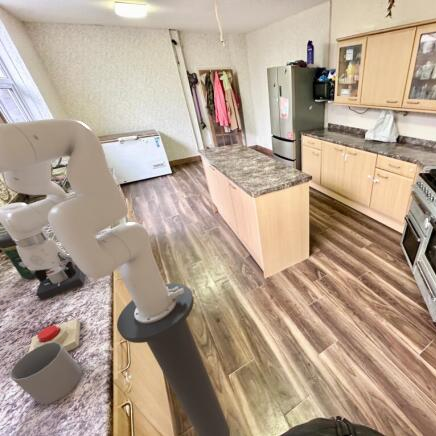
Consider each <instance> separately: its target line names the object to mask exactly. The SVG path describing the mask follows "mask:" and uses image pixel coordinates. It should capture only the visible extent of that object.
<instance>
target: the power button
mask: <svg viewBox="0 0 436 436" xmlns="http://www.w3.org/2000/svg"><path fill="white" fill-rule="evenodd" d="M55 325H56V324H53V325H49V326H47V327H45V328H44V329H42V330H41V331H40V332H39V333H38V334H37V335H38V336H37V337H38V339H39V340H40V341H41V342H47V341H49V340H52V339H53V338H54V337H56V336H57V335H58V334H59V333H60V330H59V329H58V327H57V326H55Z"/></svg>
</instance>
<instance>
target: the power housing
mask: <svg viewBox="0 0 436 436" xmlns="http://www.w3.org/2000/svg"><path fill="white" fill-rule="evenodd" d="M54 325H55V326H57V327H58V329H59V330H60V333H59V334H58V335H57V336H56V337H54V338H53V339H52V340H49V341H47V342H41V341H40V340H39V339H38V337H37V336H38V334H36V335H33V336H32V338H31V342H30V346H29V348H28V352H27V353H29V352H30V351H32V350H33V349H35V348H37V347H39V346H42V345H44V344H46V343H52V342H57V343H60V344H61V345H62V346H63V347H64V349H65V350H66V351H67V352H68V353H69V351H71V350H74V349H76V348H78V347H79V345H80V331H81V321H80V320H79V318H78V317H76V318H74V319H71V320H68V321H66V322H64V323H58V324H54Z"/></svg>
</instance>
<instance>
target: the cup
mask: <svg viewBox="0 0 436 436" xmlns="http://www.w3.org/2000/svg"><path fill="white" fill-rule="evenodd" d="M28 352H29V351H28ZM28 352H27V353H25V354H24V355H23V356H22V357H21V358H20V359H18V361H17V362H16V363H15V364H14V365H13V367H12V368H11V370H10V376H9V378H10V379H11V380H13V382H14V383H15V384H17V385H18V386H19V387H20V388H21V389H22V390H23V391H24V392H26V393H27V394H28V395H29V396H30V398H32V399H33V400H35V402H37V403H38V404H40V405H43V406H44V405H49V404H53V403H55V402H57V401H59V400H61V399H62V398H64V397H65V396H67V395H68V394H69V393H70V392H71V391H73V389H74V388H75V387H76V386H77V384H78V383H79V382H80V380H81V377H82V375H83V372H82V371H83V370H82V367H80V365H79V364H78V363H77V361H75V359H74V358H73V357H72V355H71V354H70V353H69V351H68V352H67V351H66V350H65V349H64V347H63V346H62V345H61V344H60V343H57V342H52V343H46V344H44V345H42V346H39V347H37V348H35V349H33V350H32V351H30V352H29V353H28Z"/></svg>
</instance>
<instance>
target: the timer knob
mask: <svg viewBox="0 0 436 436" xmlns="http://www.w3.org/2000/svg"><path fill="white" fill-rule="evenodd" d="M64 270H65V269H63V268H61V267H57V268H52V269H49V271H46V275H47V276H48V277H47V278H49V279H50V280H51V282H52V283H53V284H56V283H60V282H62V281H64V280H65V279H67V275H66V274H65V272H64Z"/></svg>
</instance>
